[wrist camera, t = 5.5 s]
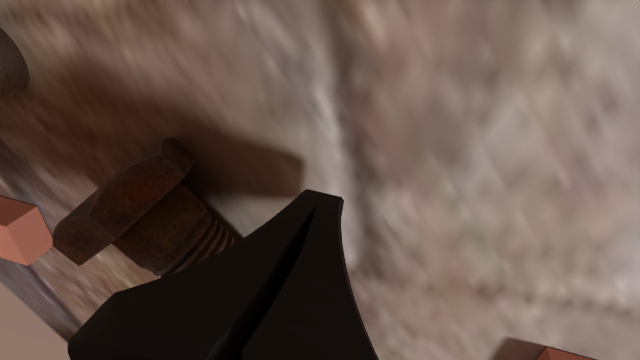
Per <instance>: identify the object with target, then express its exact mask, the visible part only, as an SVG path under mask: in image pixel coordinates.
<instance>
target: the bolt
mask: <svg viewBox="0 0 640 360" xmlns="http://www.w3.org/2000/svg"><path fill="white" fill-rule="evenodd" d="M195 162H196V160H195V159H194V158H193V157H192V156H191V155H190V154H189V153H188V152H187V151H186V150H185V149H184V148H183V147H182V146H181V145H180V144H179V143H178V142H177V141H176V139H173V138H167V137H165V138H162V139H161V140H160V141H159V142H157V143H156V144H154V145H153V146H152V147H150V148H149V149H148V150H146V151H145V152H144V153H142V154H141V155H140V156H138V157H137V158H136V159H135V160H133V161H132V162H131V163H129V164H128V165H127V166H125V167H124V168H123V169H122V170H120V171H119V172H118V173H116V174H115V175H114V176H113V177H112V178H111V179H109V180H108V181H107V182H106V183H105V184H103V185H102V186H101V187H100V188H99V189H98V190H96V191H95V192H94V193H93V194H92V195H91V196H89V197H88V198H87V199H86V200H85V201H84V202H82V203H81V204H80V205H79V206H78V207H77V208H76V209H74V210H73V211H72V212H71V213H70V214H69V215H68V216H67V217H65V218H64V219H63V220H62V221H60V222H59V223H58V225H57V226H56V227H55V230H54V233H53V246H54V247H55V248H56V249H57V250H59V251H60V252H61V253H63V254H64V255H65V256H66V257H68V258H69V259H70V260H72V261H73V262H74V263H76V264H77V265H78V266H80V265H82V264H83V263H85V262H86V261H87V260H89V259H90V258H92V257H93V256H94V255H96V254H97V253H99V252H100V251H101V250H103V249H104V248H105V247H107V246H108V245H110V244H113V245H114V246H115V247H116V248H118V249H119V250H120V251H121V252H122V253H124V254H125V255H126V256H127V257H129V258H130V259H131V260H132V261H134V262H135V263H136V264H137V265H139V266H140V267H141V268H145V269H147V270H149V271H151V272H153V274H154V275H156V276H159V275H161V278H163V277H165V276H168V275H171V274H173V273H176V272H178V271H181V270H183V269H186V268H188V267H190V266H193V265H195V264H197V263H199V262H201V261H203V260H205V259H207V258H210V257H211V256H213V255H215V254H217V253H219V252H221V251H223V250H225V249H227V248H228V247H230V246H232V245H234V244H235V243H237V242H239V241H238V240H237V239H235V238H234V237H233V235H232V234H229V233H228V230H227V229H224V228H223V226H222V225H221V224H220V223H218V222H217V220H216V219H215V218H212V215H211V214H210V213H209V212H208V211H207V210H206V207H205V205H204V204H203V203H202V202H201V201H200V200H199V199H198V198H197V197H196V196H195V195H194V194H193V193H192V192H191V191H190V190H189V189H188V188H187V187H186V186H185V185H184V184H183V183H182V182H181V180H182V179H184V178H185V176H186V175H187V173H188V172H189V171H190V169H191V168H192V166H193V165H194V164H195Z"/></svg>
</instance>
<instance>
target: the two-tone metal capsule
mask: <svg viewBox="0 0 640 360" xmlns="http://www.w3.org/2000/svg"><path fill="white" fill-rule="evenodd" d="M28 80H29V76H28V70H27V66H26V63H25V61H24V58H23V56H22V54H21V53H20V51H19V49H18V48H17V46H16V45H15V43H14V42H13V41H12V40H11V38H10V37H9V36H8V35H7V34H6V33H5V32H4V31H3V30H2V29H1V28H0V100H1V99H4V98H7V97H10V96H13V95H16V94H19V93H21V92H23V91H24V90H25V89H26V88H27V85H28Z"/></svg>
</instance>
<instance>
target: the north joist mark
mask: <svg viewBox="0 0 640 360" xmlns="http://www.w3.org/2000/svg"><path fill="white" fill-rule="evenodd" d="M52 246H53V239H52V237H51V235H50V232H49V230H48V228H47V226H46V224H45V222H44V220H43V218H42V215H41V213H40V211H39V209H38V207H37V206H34V205H31V204H27V203H23V202H20V201H16V200H13V199H9V198H5V197H2V196H0V257H1V258H4V259H7V260H10V261H14V262H17V263H20V264H23V265H27V266H28V265H29V264H31V263H32V262H33V261H34V260H36V259H37V258H38V257H40V256H41V255H42V254H43V253H45V252H46V251H47V250H48V249H50V248H51V247H52Z"/></svg>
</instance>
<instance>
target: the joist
mask: <svg viewBox="0 0 640 360" xmlns="http://www.w3.org/2000/svg"><path fill="white" fill-rule="evenodd" d="M536 360H593V359H589V358H586V357H582V356H578V355H575V354H571V353H567V352H564V351H560V350H556V349H553V348H549V347H546V349H545V350H544V351H543V352H542V353H541V354H540V356H539V357H538V358H537V359H536Z"/></svg>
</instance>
